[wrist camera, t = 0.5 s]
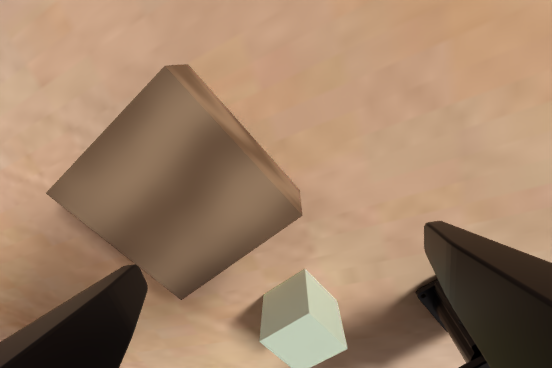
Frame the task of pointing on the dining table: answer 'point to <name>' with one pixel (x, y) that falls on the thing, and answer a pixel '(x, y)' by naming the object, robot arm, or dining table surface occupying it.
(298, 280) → the sage cube
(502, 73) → the dining table surface
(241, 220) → the walnut base
